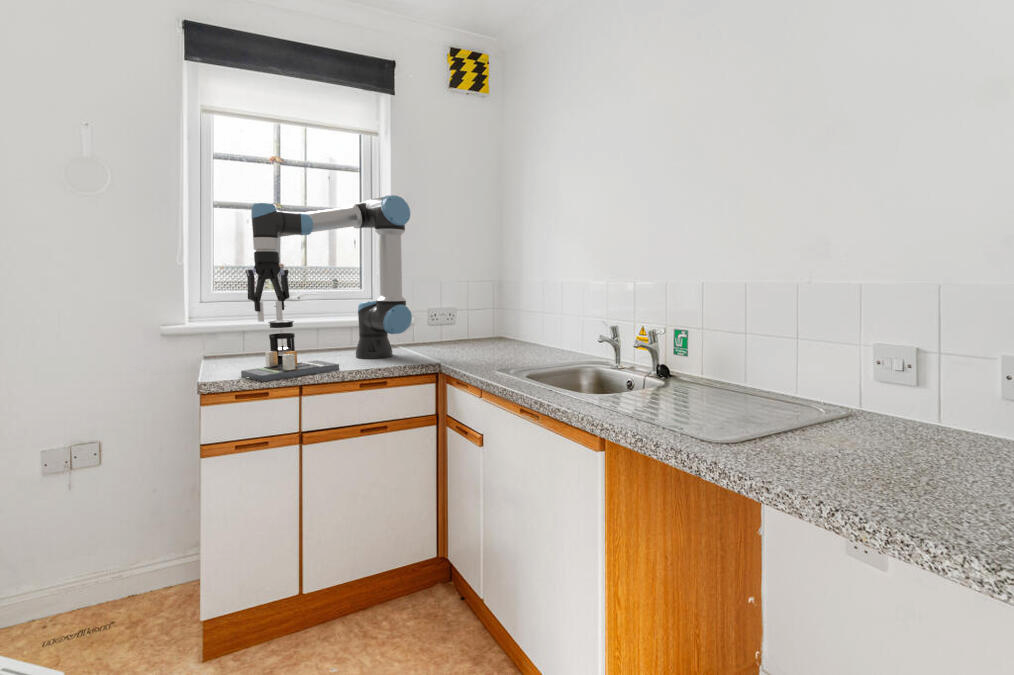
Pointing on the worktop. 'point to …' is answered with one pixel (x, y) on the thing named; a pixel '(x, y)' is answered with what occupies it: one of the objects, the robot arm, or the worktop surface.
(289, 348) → the french press
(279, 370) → the panel
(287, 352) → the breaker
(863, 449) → the worktop surface
